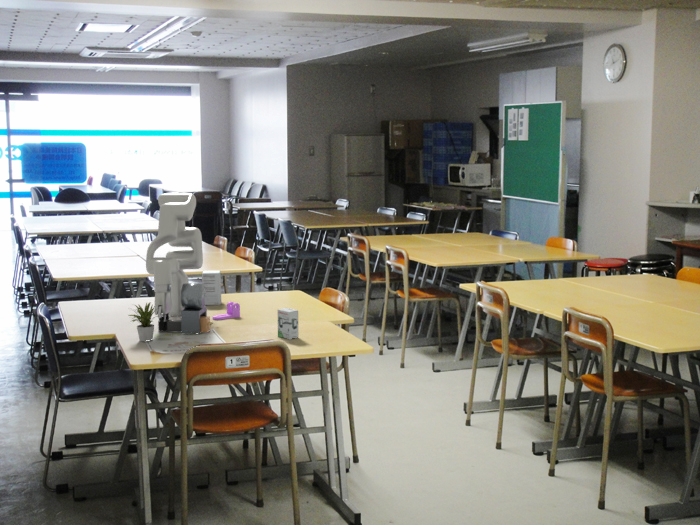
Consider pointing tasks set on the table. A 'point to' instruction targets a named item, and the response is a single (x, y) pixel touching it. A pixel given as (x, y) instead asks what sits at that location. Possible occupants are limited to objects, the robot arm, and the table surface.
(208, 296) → the supplement box
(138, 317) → the house plant
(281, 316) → the ink box
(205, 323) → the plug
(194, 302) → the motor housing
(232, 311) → the bracket
